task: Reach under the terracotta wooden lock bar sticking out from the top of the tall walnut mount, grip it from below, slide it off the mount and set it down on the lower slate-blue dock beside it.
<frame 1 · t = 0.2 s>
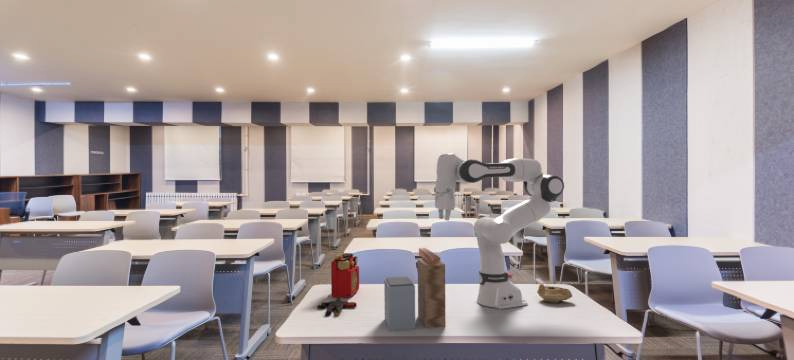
hand: (443, 219, 168), 39 cm above the table, tool pointing down, fingers open, 8 cm apart
toy: (334, 310, 164), on the table
radio: (345, 294, 186), on the table
lock bar: (428, 259, 152), point 24 cm above the table, touching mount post
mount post: (431, 321, 149), on the table
dock: (399, 323, 147), on the table
oil lamp: (554, 301, 173), on the table
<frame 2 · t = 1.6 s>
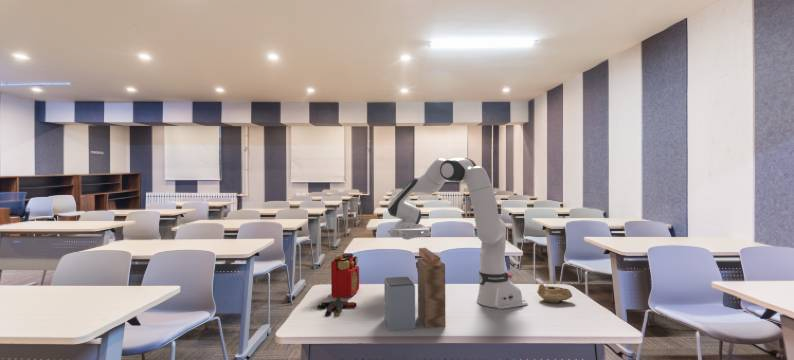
hand: (413, 234, 180), 30 cm above the table, tool horizontal, fingers open, 8 cm apart
nothing on the table moved.
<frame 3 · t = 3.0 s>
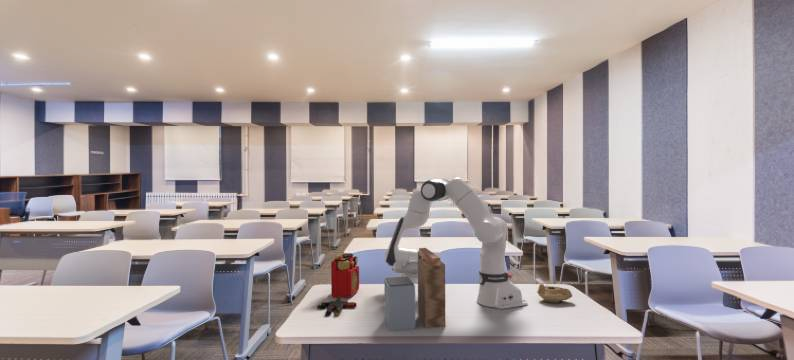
hand: (417, 261, 171), 19 cm above the table, tool pointing upward, fingers open, 8 cm apart
nothing on the table moved.
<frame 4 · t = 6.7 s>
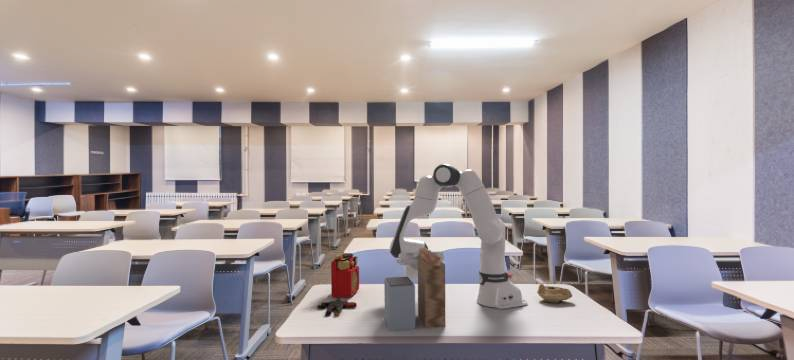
hand: (424, 251, 159), 26 cm above the table, tool pointing upward, fingers closed on lock bar, 3 cm apart
lock bar: (428, 259, 152), point 24 cm above the table, touching gripper, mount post
everything else where it was.
when the fingers open (20 cm above the table, at t = 16.0 s): lock bar drops 2 cm, resting on dock.
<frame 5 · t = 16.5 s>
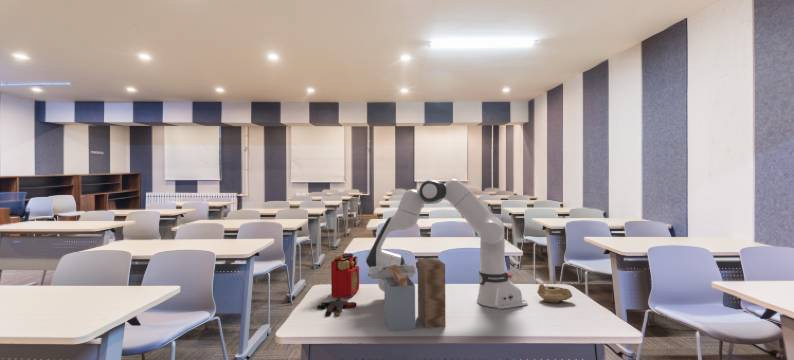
hand: (394, 266, 157), 20 cm above the table, tool pointing upward, fingers open, 8 cm apart
lock bar: (397, 278, 150), point 17 cm above the table, touching dock
everything else where it was.
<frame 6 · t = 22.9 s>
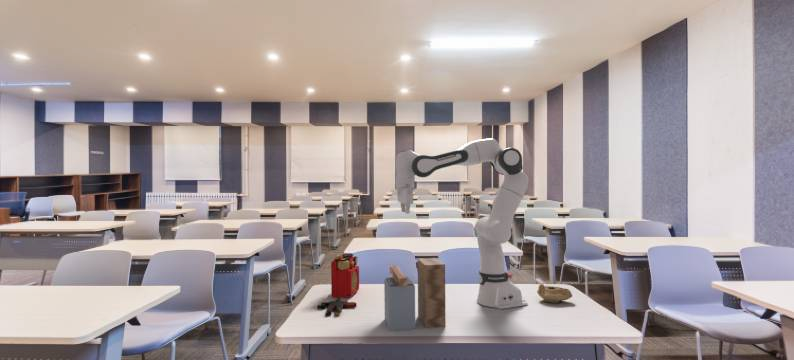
hand: (405, 212, 179), 41 cm above the table, tool pointing down, fingers open, 8 cm apart
nothing on the table moved.
at the end: lock bar inside the target area on the dock (0.6 cm from its centre), point 17.0 cm above the dock's base; lock bar tilted 0°; the gripper is holding nothing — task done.
